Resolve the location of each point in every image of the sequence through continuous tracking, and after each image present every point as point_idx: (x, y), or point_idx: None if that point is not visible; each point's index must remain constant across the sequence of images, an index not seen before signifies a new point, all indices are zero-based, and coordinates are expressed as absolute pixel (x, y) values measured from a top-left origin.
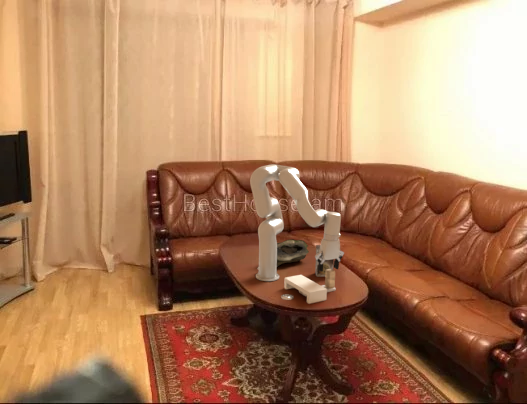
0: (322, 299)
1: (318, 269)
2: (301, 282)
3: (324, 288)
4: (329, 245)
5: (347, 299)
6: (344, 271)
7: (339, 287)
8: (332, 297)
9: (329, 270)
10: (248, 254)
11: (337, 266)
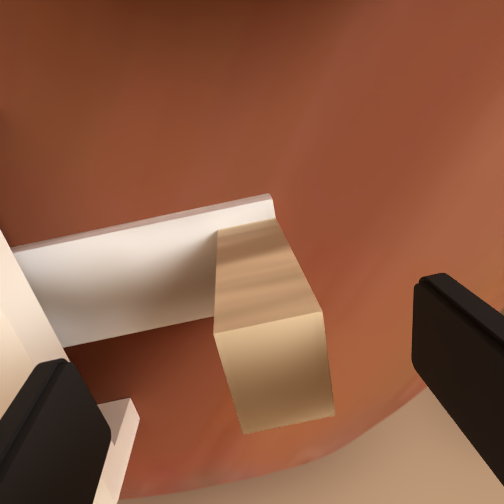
0: None
1: (41, 374)
2: None
3: (97, 496)
4: None
5: (282, 430)
6: None
7: (353, 238)
8: (199, 392)
9: (263, 374)
10: None
11: (445, 408)
